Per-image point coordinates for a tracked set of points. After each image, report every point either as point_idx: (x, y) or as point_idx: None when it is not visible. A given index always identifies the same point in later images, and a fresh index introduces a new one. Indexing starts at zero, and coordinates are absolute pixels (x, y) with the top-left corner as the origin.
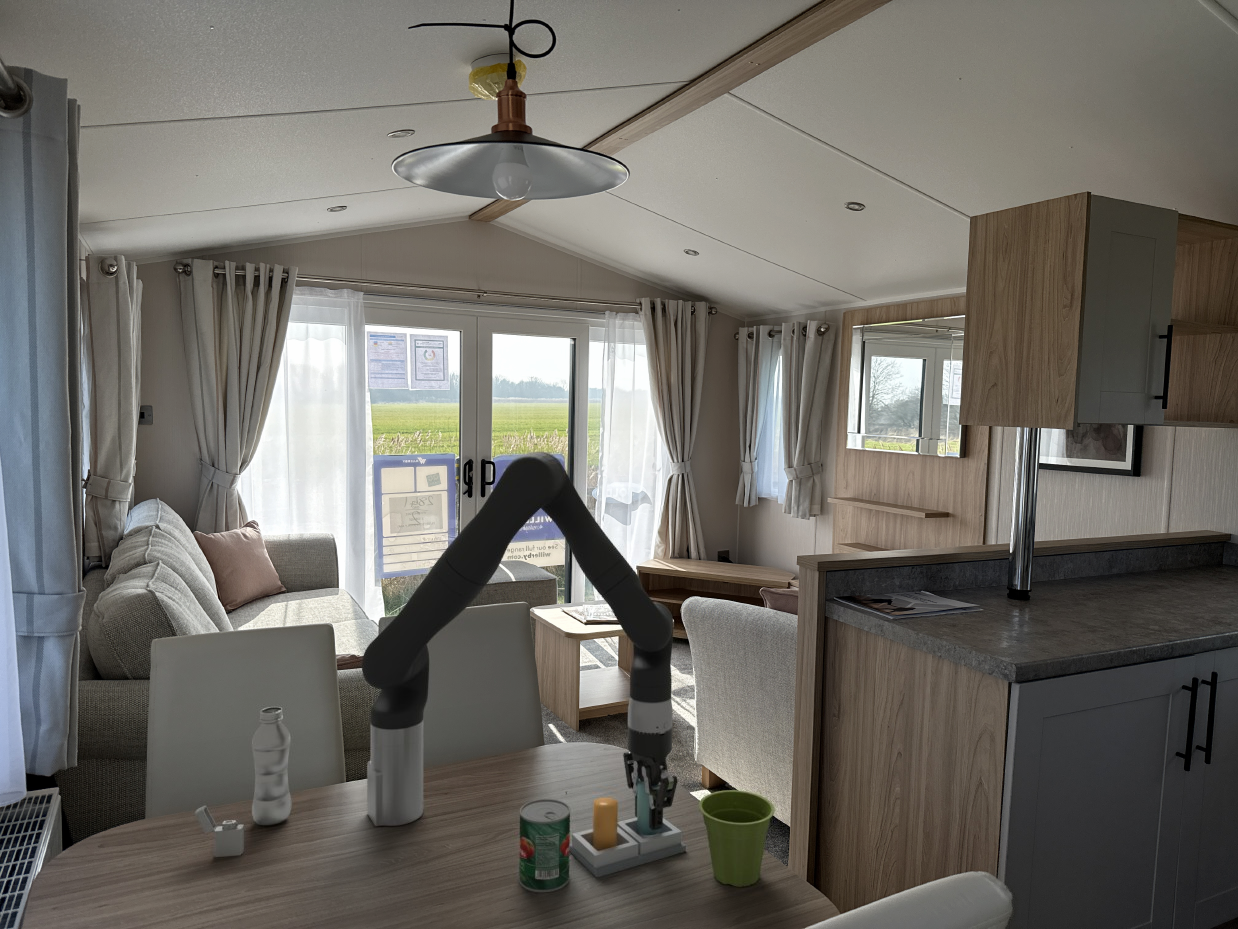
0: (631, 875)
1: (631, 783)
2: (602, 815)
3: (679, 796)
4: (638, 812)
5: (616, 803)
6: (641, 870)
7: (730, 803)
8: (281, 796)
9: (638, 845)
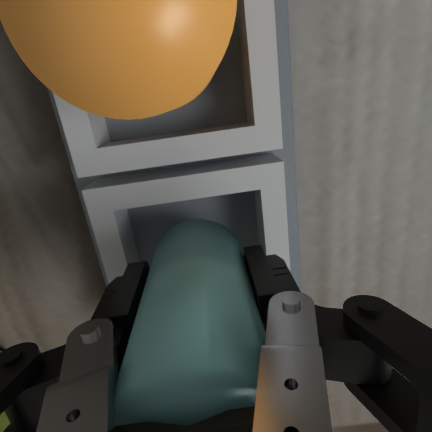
0: (16, 105)
1: (356, 328)
2: None
3: None
4: (195, 255)
5: (77, 96)
6: (43, 152)
7: None
8: None
9: (105, 182)
